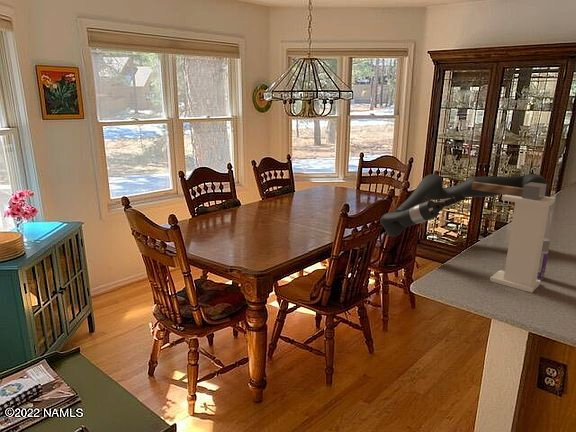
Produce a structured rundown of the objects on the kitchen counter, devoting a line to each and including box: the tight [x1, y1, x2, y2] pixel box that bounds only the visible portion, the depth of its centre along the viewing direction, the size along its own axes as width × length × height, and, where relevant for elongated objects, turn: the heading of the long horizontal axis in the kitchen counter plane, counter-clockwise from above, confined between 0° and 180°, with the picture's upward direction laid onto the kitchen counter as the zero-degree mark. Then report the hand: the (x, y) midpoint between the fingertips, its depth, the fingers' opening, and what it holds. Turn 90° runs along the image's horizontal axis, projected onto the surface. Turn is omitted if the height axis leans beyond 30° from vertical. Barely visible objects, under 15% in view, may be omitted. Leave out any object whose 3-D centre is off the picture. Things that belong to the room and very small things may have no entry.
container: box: [537, 237, 551, 281], centre depth 159 cm, size 5×5×15 cm
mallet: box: [472, 182, 547, 201], centre depth 152 cm, size 23×8×4 cm, turn 47°
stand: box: [489, 194, 556, 293], centre depth 152 cm, size 14×10×32 cm
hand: (459, 198), depth 164 cm, fingers open, 8 cm apart
